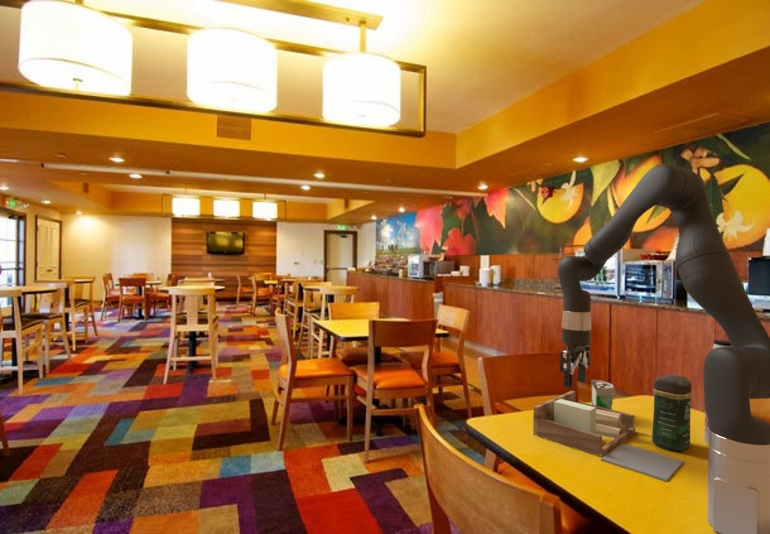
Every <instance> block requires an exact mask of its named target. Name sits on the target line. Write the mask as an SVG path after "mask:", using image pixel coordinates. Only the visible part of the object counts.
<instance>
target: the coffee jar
mask: <svg viewBox="0 0 770 534" xmlns="http://www.w3.org/2000/svg"><path fill="white" fill-rule="evenodd" d="M692 385H693V384H692V382H691V380H689V379H688V378H687V377H685V376H682V375H676V374H669V375H665V376H661V377H658V378H655V379H654V382H653V416H652V417H653V419H652V431H651V433H652V435H651V441H652V443H653V444H655V445H657V446H658V447H660V448H662V449H664V450H669V451H670V450H671V451H677V452H682V451H684V450H687V449H689V447H690V445H691V410H692V409H691V406H692V394H693V393H692Z"/></svg>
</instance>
